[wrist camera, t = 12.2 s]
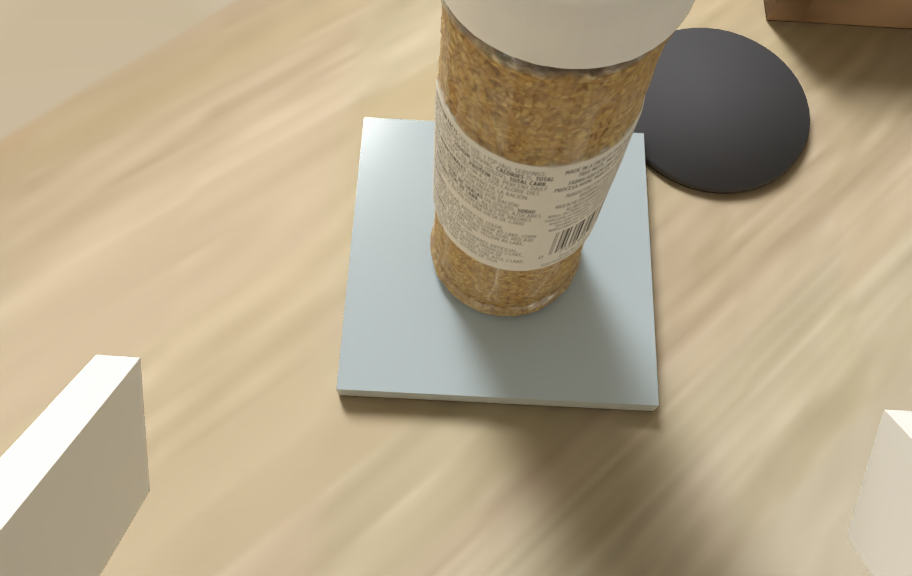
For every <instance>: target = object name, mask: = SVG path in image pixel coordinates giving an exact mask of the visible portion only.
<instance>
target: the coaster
mask: <svg viewBox="0 0 912 576" xmlns="http://www.w3.org/2000/svg"><path fill="white" fill-rule="evenodd" d="M434 125H435V121H422V120H404V119H387V118H370V117H364V122H363V132H362V142H361V152H360V162H359V172H358V182H357V192H356V202H355V212H354V222H353V232H352V241H351V251H350V261H349V271H348V281H347V291H346V301H345V311H344V321H343V331H342V341H341V351H340V361H339V371H338V381H337V392H338V395H347V396H367V397H387V398H406V399H426V400H445V401H465V402H485V403H504V404H524V405H544V406H563V407H583V408H603V409H622V410H642V411H654V410H655V409H656V408H657V407H658V406H659V398H658V380H657V363H656V345H655V327H654V309H653V291H652V273H651V255H650V237H649V219H648V201H647V183H646V165H645V147H644V133H633V134H632V137H631V139H630V142H629V144H628V147H627V149H626V152H625V154H624V157H623V159H622V162H621V164H620V167H619V169H618V171H617V174H616V176H615V178H614V181H613V183H612V185H611V187H610V189H609V192H608V194H607V196H606V199H605V201H604V203H603V206H602V208H601V211H600V213H599V216H598V218H597V220H596V223H595V225H594V227H593V229H592V231H591V233H590V235H589V237H588V238H587V239H586V241H585V242H584V245H583V248H582V250H581V257H580V263H579V267H578V270H577V272H576V274H575V276H574V278H573V280H572V282H571V284H570V285H569V287H568V288H567V290H566V291H565V292H563V293H562V294H560V295H559V297H558V298H557V299H556V300H555V301H554V302H552V303H550V304H548V305H547V306H545V307H544V308H542V309H541V310H539V311H536V312H532V313H529V314H522V315H519V316H495V315H490V314H486V313H480V312H479V311H477V310H475V309H473V308H471V307H468V306H467V305H465V304H463V303H462V302H461V301H459V300H458V299H457V298H456V297H455V296H454V295H453V294H451V293H450V292H449V291H448V289H447V288H446V286H445V285H444V284H443V283H442V282H441V280H440V279H439V278H438V277H437V274H436V271H435V267H434V264H433V260H432V256H431V250H430V235H431V231H432V227H433V223H434V219H435V206H434V201H433V161H434Z"/></svg>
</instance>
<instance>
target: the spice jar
mask: <svg viewBox="0 0 912 576" xmlns="http://www.w3.org/2000/svg"><path fill="white" fill-rule="evenodd" d="M694 1H695V0H441V2H442V17H441V34H442V37H441V50H440V57H439V73H438V76H437V80H436V98H435V125H434V161H433V201H434V206H435V219H434V223H433V227H432V231H431V235H430V250H431V256H432V260H433V264H434V267H435V271H436V274H437V277H438V278H439V279H440V280H441V282H442V283H443V284H444V285H445V286H446V288H447V289H448V291H449V292H450V293H451V294H453V295H454V296H455V297H456V298H457V299H458V300H459V301H461V302H462V303H463V304H465V305H467V306H468V307H471V308H473V309H475V310H477V311H479V312H480V313H486V314H490V315H495V316H519V315H522V314H529V313H532V312H536V311H539V310H541V309H542V308H544V307H545V306H547V305H548V304H550V303H552V302H554V301H555V300H556V299H557V298H558V297H559V295H560V294H562V293H563V292H565V291H566V290H567V288H568V287H569V285H570V284H571V282H572V280H573V278H574V276H575V274H576V272H577V270H578V267H579V263H580V257H581V250H582V248H583V245H584V242H585V241H586V239H587V238H588V237H589V235H590V233H591V231H592V229H593V227H594V225H595V223H596V220H597V218H598V216H599V213H600V211H601V208H602V206H603V203H604V201H605V199H606V196H607V194H608V192H609V189H610V187H611V185H612V183H613V181H614V178H615V176H616V174H617V171H618V169H619V167H620V164H621V162H622V159H623V157H624V154H625V152H626V149H627V147H628V144H629V142H630V139H631V137H632V134H633V132H634V130H635V127H636V125H637V122H638V120H639V117H640V115H641V112H642V109H643V105H644V100H645V95H646V92H647V90H648V87H649V85H650V83H651V80H652V77H653V74H654V71H655V68H656V64H657V61H658V59H659V57H660V55H661V52H662V50H663V48H664V46H665V44H666V43H667V41H668V40H669V39H670V38H671V36H672V35H673V34H674V32H675V31H676V29H677V28H678V27H679V26H680V24H681V23H682V22H683V21H684V19H685V18H686V16H687V15H688V13H689V11H690V9H691V7H692V5H693V3H694Z"/></svg>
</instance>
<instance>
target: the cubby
mask: <svg viewBox="0 0 912 576" xmlns="http://www.w3.org/2000/svg"><path fill="white" fill-rule="evenodd" d="M764 5H765V12H766V20H780V21H796V22H813V23H829V24H845V25H862V26H878V27H895V28H911V29H912V0H764Z"/></svg>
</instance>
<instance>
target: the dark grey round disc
mask: <svg viewBox="0 0 912 576" xmlns="http://www.w3.org/2000/svg"><path fill="white" fill-rule="evenodd" d="M809 125H810V115H809V107H808V103H807V99H806V96H805V94H804V91H803V89H802V87H801V85H800V83H799V81H798V80H797V78H796V77H795V75H794V74H793V73H792V71H791V70H790V69H789V68H788V67H787V65H786V64H785V63H784V62H783V61H782V60H781V59H779V58H778V57H777V56H776V55H775V54H774V53H772V52H771V51H770V50H768V49H767V48H765V47H764V46H762V45H760V44H759V43H757V42H755V41H753V40H751V39H749V38H746V37H744V36H742V35H738V34H735V33H732V32H728V31H724V30H719V29H711V28H689V29H681V30H677V31H675V32H674V34H673V35H672V36H671V38H670V39H669V40H668V41H667V43H666V44H665V46H664V48H663V50H662V52H661V55H660V57H659V59H658V61H657V64H656V68H655V71H654V74H653V77H652V80H651V83H650V85H649V87H648V90H647V92H646V95H645V100H644V105H643V109H642V112H641V115H640V117H639V120H638V122H637V125H636V127H635V130H634V132H633V133H644V147H645V162H646V163H647V164H648V165H650V166H651V167H652V168H653V169H655V170H656V171H657V172H659V173H660V174H662V175H664V176H665V177H667V178H668V179H670V180H673V181H675V182H677V183H679V184H681V185H684V186H687V187H690V188H693V189H697V190H701V191H706V192H714V193H736V192H744V191H748V190H752V189H756V188H759V187H761V186H764V185H766V184H768V183H770V182H772V181H774V180H775V179H777V178H778V177H780V176H781V175H782V174H783V173H785V172H786V171H787V170H788V169H789V167H790V166H791V165H792V164H793V163H794V162H795V160H796V159H797V158H798V156H799V155H800V153H801V152H802V150H803V148H804V145H805V143H806V141H807V137H808V133H809Z"/></svg>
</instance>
